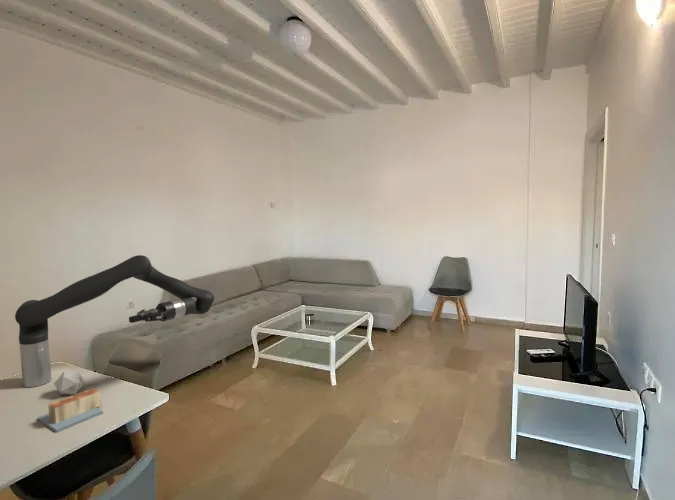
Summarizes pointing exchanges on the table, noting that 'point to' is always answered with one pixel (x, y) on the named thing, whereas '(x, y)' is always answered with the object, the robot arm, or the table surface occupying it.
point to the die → (69, 382)
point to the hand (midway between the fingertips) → (130, 320)
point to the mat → (70, 421)
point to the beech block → (74, 405)
